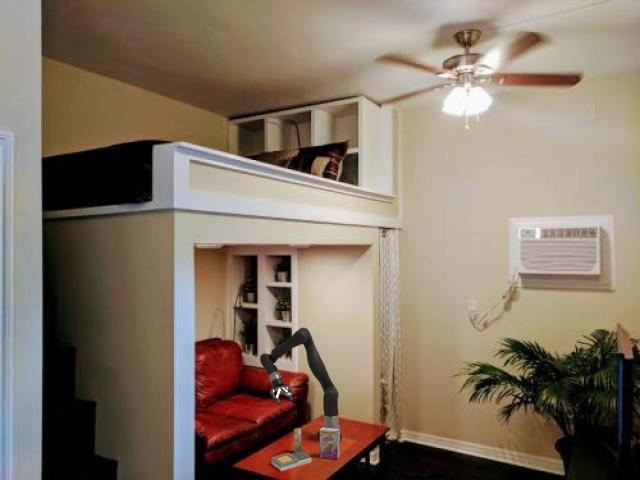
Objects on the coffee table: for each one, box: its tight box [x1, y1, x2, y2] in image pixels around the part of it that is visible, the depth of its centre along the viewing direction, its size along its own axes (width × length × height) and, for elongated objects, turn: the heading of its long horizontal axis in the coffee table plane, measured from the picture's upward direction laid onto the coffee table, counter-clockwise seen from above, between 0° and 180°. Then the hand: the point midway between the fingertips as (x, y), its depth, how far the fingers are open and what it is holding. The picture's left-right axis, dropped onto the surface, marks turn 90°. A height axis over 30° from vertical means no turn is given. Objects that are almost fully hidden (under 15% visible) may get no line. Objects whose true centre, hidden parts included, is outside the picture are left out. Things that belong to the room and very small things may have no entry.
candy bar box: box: [319, 427, 340, 461], centre depth 289 cm, size 11×5×16 cm, turn 74°
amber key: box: [276, 456, 293, 463], centre depth 280 cm, size 7×7×1 cm
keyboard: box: [271, 450, 312, 472], centre depth 282 cm, size 20×11×4 cm, turn 124°
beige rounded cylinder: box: [292, 427, 303, 454], centre depth 296 cm, size 6×6×14 cm
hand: (285, 402), depth 307 cm, fingers open, 8 cm apart
